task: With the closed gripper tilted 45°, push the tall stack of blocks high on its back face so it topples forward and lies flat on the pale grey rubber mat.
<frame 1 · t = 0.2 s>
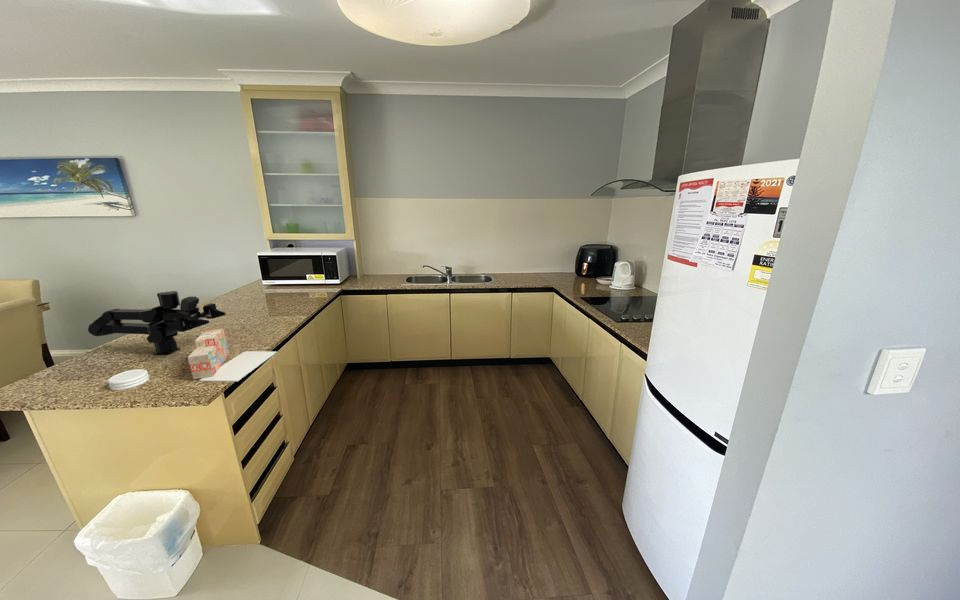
hand: (217, 317, 138), 16 cm above the countertop, tool horizontal, fingers open, 9 cm apart
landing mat: (241, 365, 132), on the countertop
white ridged disc: (130, 384, 118), on the countertop
stack of blocks: (213, 366, 130), on the countertop, touching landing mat
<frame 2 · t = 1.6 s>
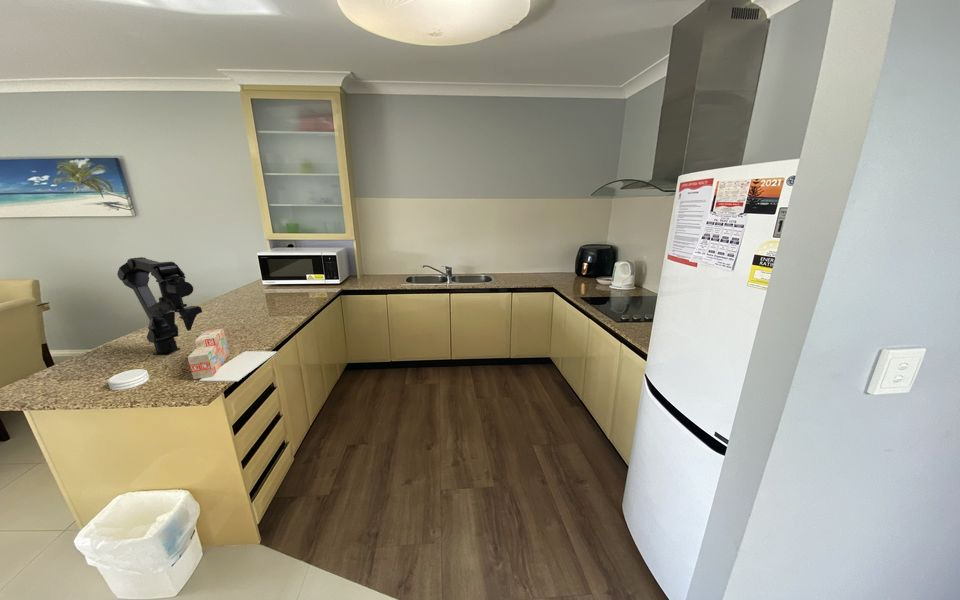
hand: (180, 329, 133), 13 cm above the countertop, tool pointing down, fingers open, 8 cm apart
nothing on the countertop moved.
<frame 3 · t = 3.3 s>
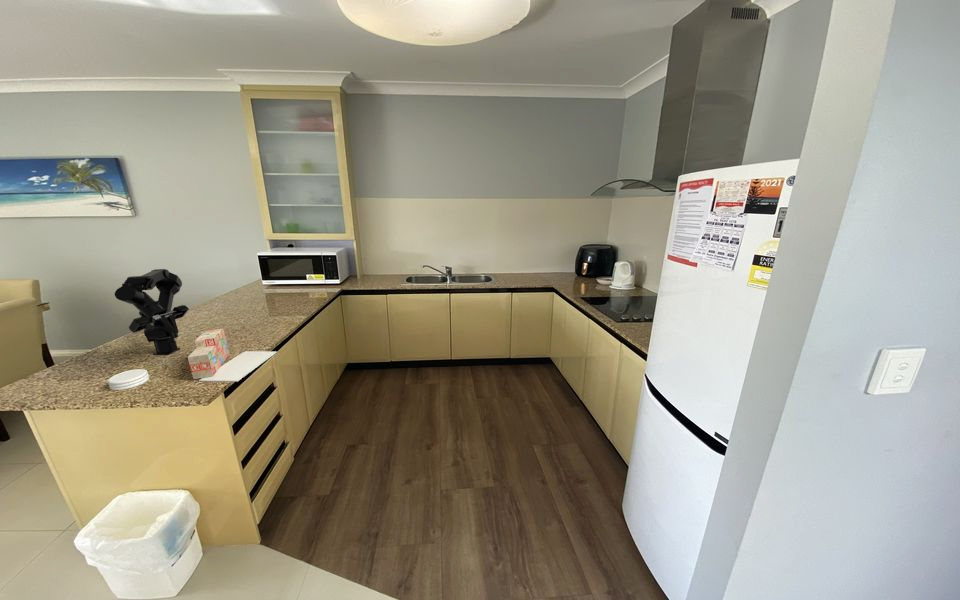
hand: (177, 332, 129), 14 cm above the countertop, tool tilted 45°, fingers closed
nothing on the countertop moved.
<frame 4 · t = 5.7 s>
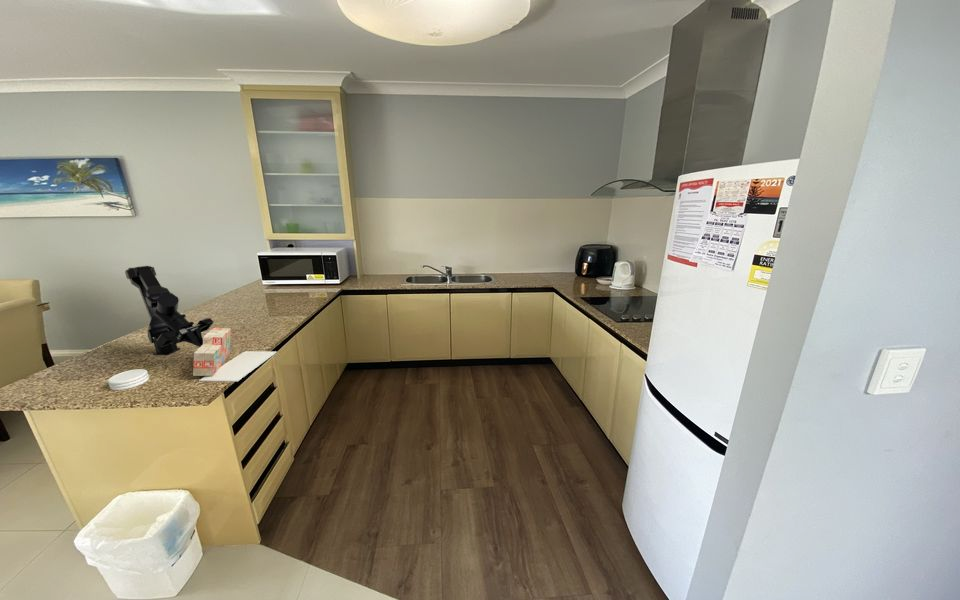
hand: (203, 346, 128), 9 cm above the countertop, tool tilted 45°, fingers closed
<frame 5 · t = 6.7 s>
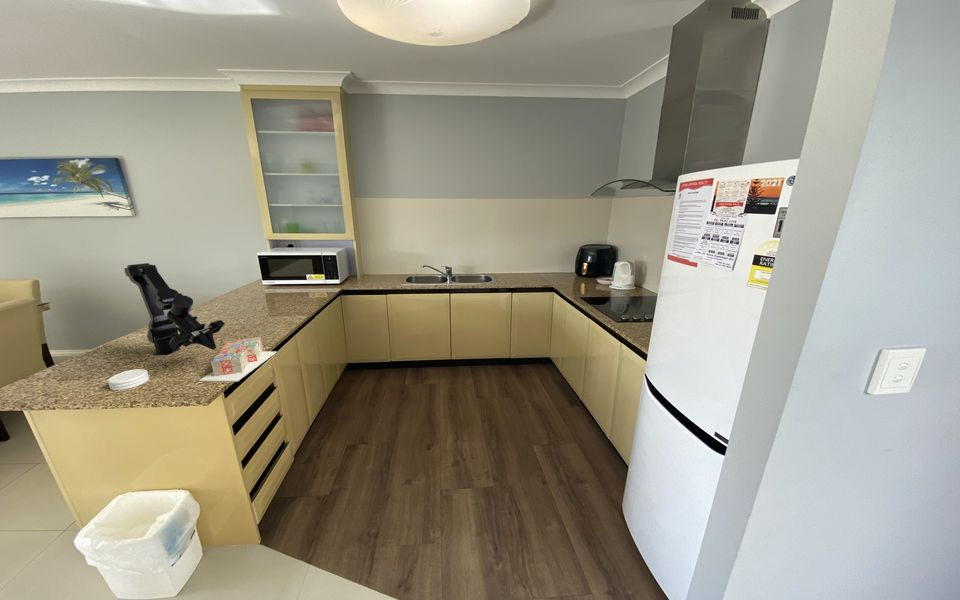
hand: (214, 348, 128), 8 cm above the countertop, tool tilted 45°, fingers closed
stack of blocks: (220, 357, 131), point 3 cm above the countertop, touching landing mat
everything else where it was.
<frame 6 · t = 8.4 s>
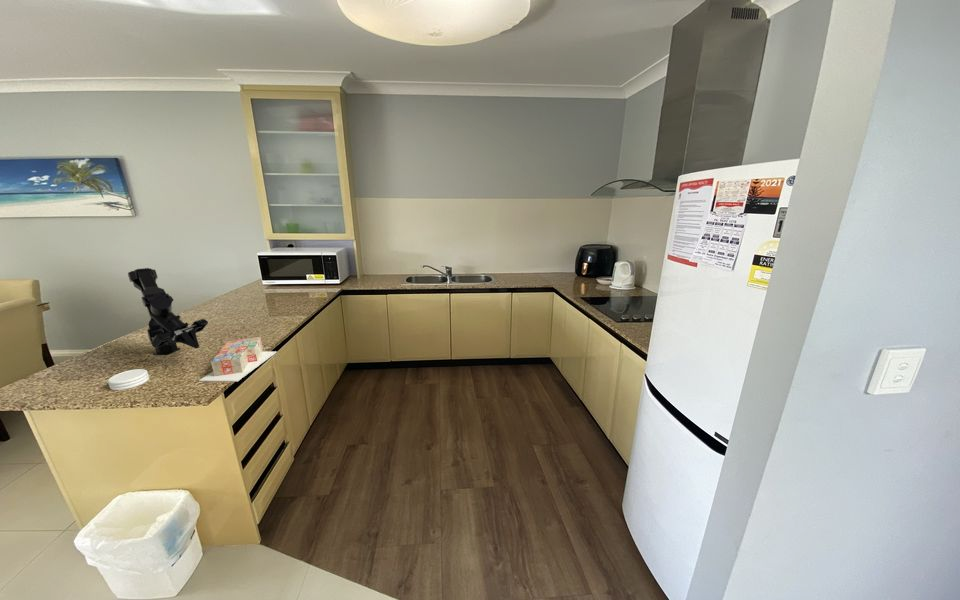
hand: (197, 347, 129), 8 cm above the countertop, tool tilted 45°, fingers closed
nothing on the countertop moved.
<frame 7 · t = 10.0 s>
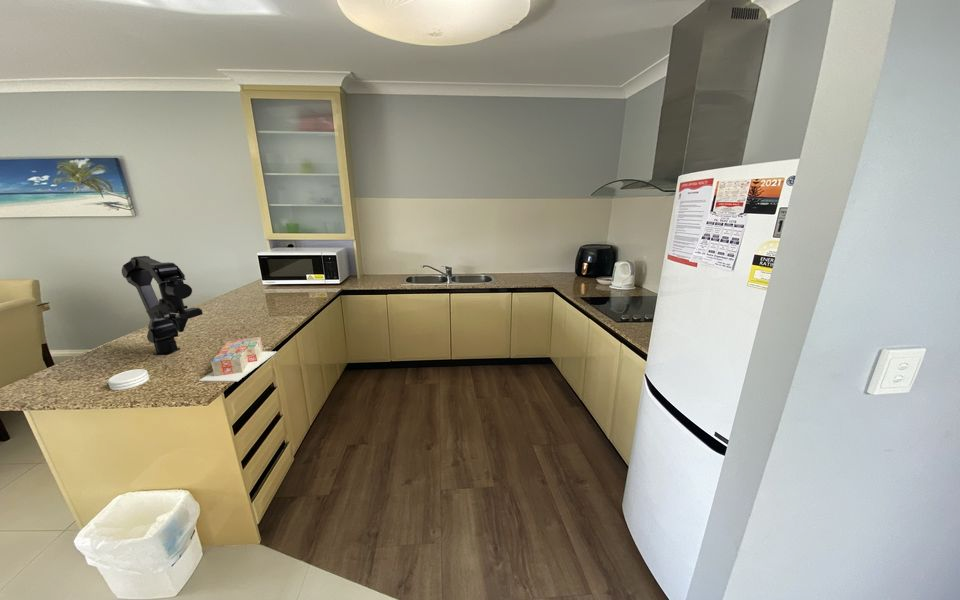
hand: (181, 331, 131), 13 cm above the countertop, tool pointing down, fingers closed
nothing on the countertop moved.
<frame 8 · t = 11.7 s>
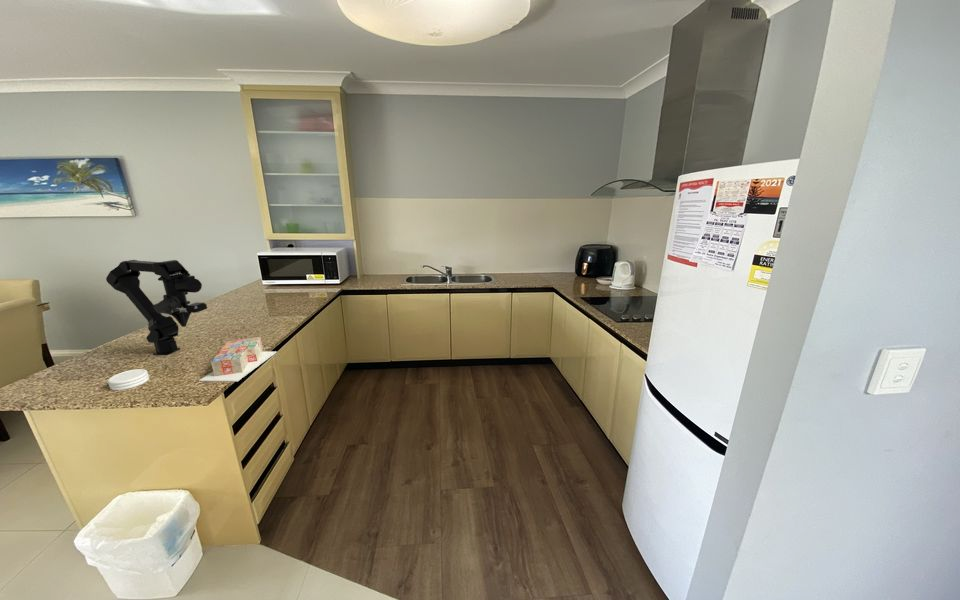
hand: (184, 326, 137), 13 cm above the countertop, tool pointing down, fingers closed
nothing on the countertop moved.
at the end: stack of blocks tilted 89°; stack of blocks inside the target area (3.0 cm from its centre), point 3.4 cm above the countertop; stack of blocks touching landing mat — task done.
